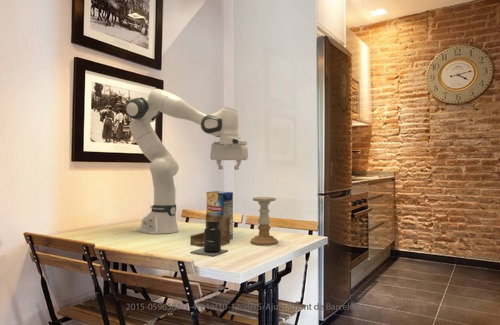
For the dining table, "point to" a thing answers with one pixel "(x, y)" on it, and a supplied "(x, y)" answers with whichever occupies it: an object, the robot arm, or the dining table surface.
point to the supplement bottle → (212, 237)
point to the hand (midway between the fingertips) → (228, 169)
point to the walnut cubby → (223, 224)
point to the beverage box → (221, 206)
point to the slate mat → (202, 252)
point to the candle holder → (264, 223)
